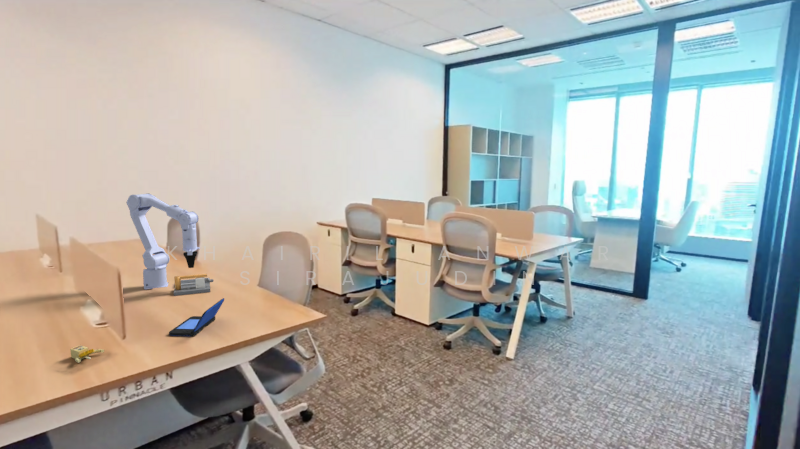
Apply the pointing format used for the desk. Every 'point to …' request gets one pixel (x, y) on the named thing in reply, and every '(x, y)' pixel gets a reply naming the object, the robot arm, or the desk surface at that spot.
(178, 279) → the clip
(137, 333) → the desk surface
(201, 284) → the plug
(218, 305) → the handheld game console
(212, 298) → the desk surface
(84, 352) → the character toy
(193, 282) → the tray
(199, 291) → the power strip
